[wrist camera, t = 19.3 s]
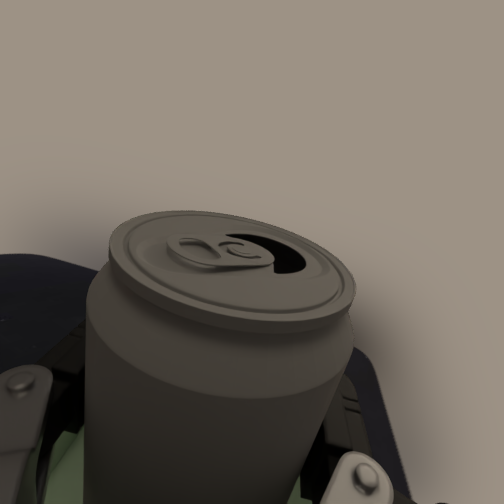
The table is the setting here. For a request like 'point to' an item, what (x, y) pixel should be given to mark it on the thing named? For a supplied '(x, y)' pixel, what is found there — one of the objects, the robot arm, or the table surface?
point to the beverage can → (209, 360)
